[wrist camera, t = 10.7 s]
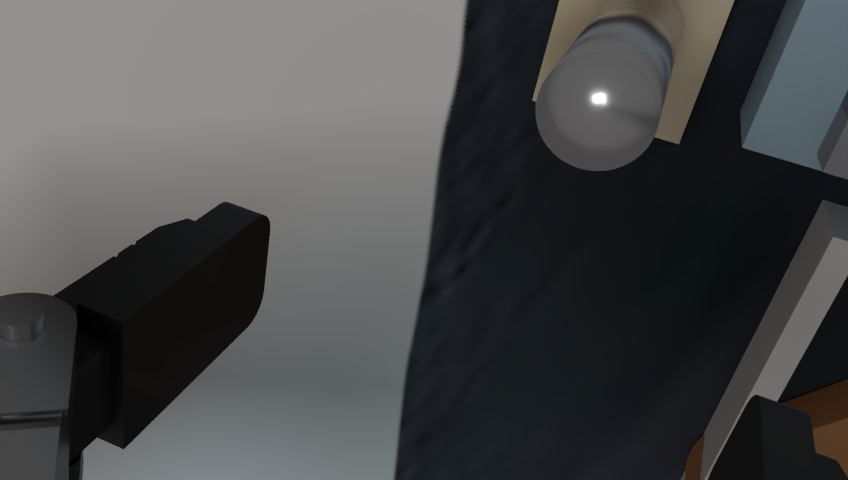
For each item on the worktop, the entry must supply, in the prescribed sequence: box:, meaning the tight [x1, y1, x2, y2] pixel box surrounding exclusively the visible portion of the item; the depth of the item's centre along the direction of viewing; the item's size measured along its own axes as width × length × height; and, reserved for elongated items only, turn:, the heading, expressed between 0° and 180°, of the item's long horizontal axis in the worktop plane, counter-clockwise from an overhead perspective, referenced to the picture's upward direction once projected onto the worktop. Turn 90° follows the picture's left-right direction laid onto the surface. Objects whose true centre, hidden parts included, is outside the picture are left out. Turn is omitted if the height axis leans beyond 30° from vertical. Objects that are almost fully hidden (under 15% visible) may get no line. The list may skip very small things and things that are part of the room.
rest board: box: [532, 0, 734, 144], centre depth 34 cm, size 7×9×1 cm
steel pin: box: [535, 0, 682, 171], centre depth 28 cm, size 4×4×13 cm
